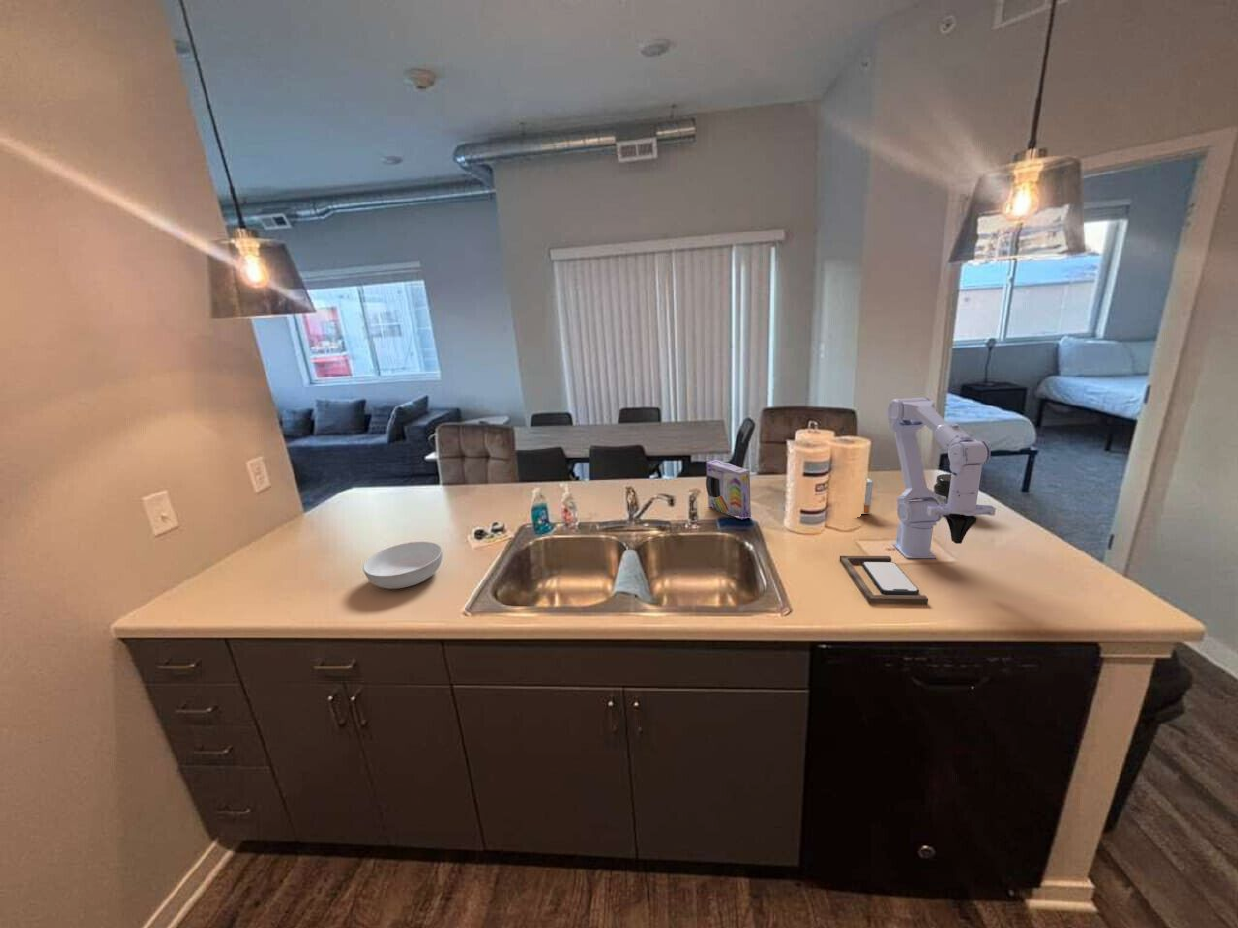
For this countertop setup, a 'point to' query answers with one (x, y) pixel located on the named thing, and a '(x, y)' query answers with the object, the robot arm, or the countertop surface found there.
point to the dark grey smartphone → (889, 578)
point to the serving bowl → (403, 564)
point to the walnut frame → (867, 592)
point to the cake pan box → (728, 488)
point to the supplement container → (942, 487)
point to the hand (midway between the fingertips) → (956, 541)
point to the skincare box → (868, 496)
